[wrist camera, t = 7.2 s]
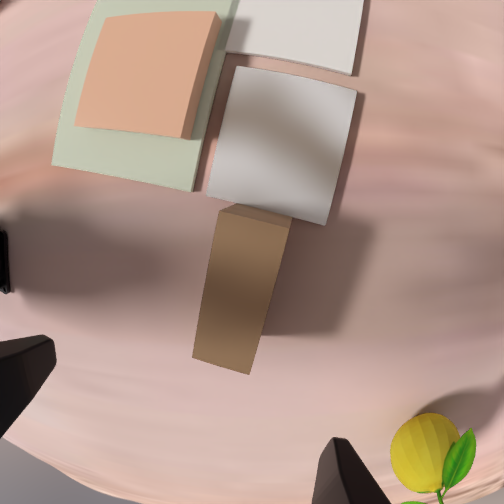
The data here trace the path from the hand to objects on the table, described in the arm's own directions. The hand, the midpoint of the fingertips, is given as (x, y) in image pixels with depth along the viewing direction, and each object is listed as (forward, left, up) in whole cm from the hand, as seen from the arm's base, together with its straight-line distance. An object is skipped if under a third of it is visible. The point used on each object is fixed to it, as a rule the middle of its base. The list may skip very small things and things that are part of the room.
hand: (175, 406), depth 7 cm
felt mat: (+11, +11, -12) cm, 19 cm away
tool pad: (+21, +1, -12) cm, 24 cm away
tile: (+11, +13, -11) cm, 20 cm away
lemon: (-9, -16, -12) cm, 22 cm away
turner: (+4, 0, -12) cm, 13 cm away
